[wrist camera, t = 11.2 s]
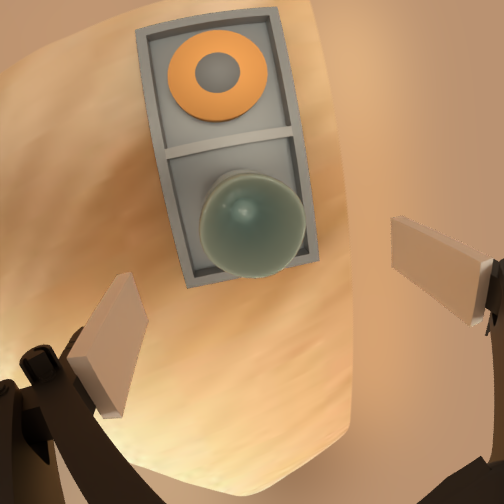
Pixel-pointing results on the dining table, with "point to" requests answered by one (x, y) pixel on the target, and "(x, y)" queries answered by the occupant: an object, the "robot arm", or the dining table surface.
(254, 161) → the tray
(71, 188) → the dining table surface
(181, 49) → the orange round thick disc
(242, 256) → the cup
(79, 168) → the dining table surface
